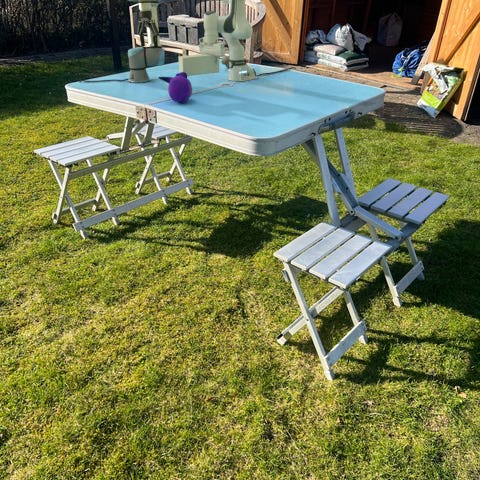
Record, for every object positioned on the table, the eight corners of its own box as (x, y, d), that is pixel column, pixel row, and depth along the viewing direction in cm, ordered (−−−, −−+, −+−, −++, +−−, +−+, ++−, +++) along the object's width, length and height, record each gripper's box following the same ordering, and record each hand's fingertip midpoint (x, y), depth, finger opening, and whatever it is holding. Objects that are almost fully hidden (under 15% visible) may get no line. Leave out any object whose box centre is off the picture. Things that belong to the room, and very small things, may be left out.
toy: (182, 94, 297) (192, 108, 276) (156, 89, 290) (164, 103, 269) (187, 69, 289) (197, 82, 268) (160, 64, 282) (169, 77, 261)
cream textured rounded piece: (225, 72, 364) (224, 52, 356) (218, 70, 372) (217, 50, 365) (247, 69, 373) (247, 50, 365) (240, 67, 381) (240, 48, 374)
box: (183, 76, 285) (182, 57, 279) (179, 74, 289) (178, 56, 283) (219, 72, 296) (219, 54, 290) (215, 70, 300) (214, 53, 294)
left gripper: (162, 10, 274) (166, 48, 285) (138, 9, 289) (142, 45, 300) (153, 11, 270) (157, 49, 280) (128, 10, 284) (133, 46, 295)
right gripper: (226, 40, 282) (227, 63, 290) (204, 38, 294) (205, 60, 301) (219, 41, 278) (221, 64, 286) (197, 39, 290) (198, 61, 297)
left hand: (149, 47), depth 290 cm, fingers open, 13 cm apart
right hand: (212, 62), depth 294 cm, fingers closed on box, 7 cm apart
